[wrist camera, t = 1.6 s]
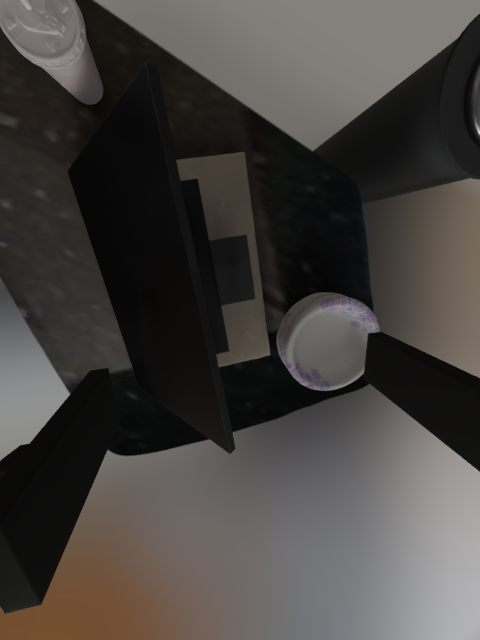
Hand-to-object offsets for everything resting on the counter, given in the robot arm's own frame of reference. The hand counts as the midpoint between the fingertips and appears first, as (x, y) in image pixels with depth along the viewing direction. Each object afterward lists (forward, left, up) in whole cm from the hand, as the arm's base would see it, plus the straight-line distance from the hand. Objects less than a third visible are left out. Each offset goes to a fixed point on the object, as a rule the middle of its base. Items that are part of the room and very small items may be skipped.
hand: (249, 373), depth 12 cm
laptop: (+3, -2, -28) cm, 28 cm away
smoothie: (+10, -26, -28) cm, 39 cm away
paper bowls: (-16, +11, -28) cm, 34 cm away
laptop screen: (+7, -2, -17) cm, 19 cm away
